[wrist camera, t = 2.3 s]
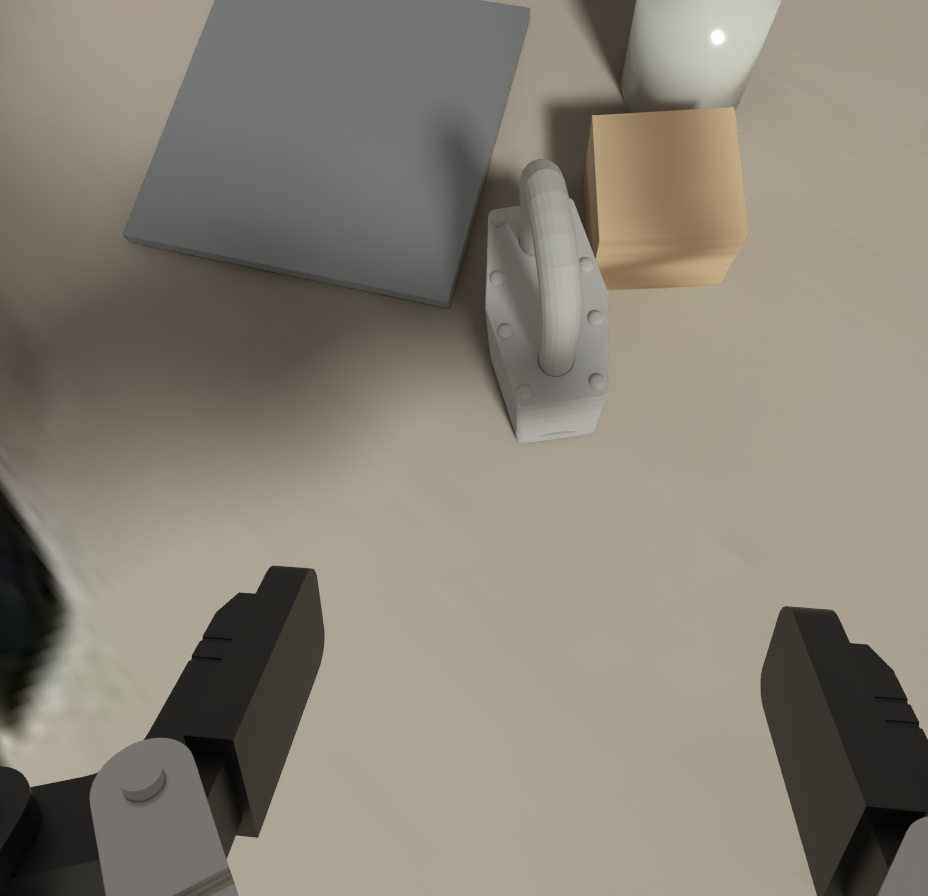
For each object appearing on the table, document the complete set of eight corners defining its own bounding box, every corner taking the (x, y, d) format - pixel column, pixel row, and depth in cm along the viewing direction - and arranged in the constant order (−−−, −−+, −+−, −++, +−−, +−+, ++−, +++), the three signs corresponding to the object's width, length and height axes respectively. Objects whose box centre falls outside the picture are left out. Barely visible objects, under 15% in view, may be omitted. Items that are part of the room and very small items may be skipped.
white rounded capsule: (610, 125, 31) (627, 30, 26) (634, 26, 32) (654, -82, 27) (731, 145, 30) (772, 52, 25) (751, 44, 31) (794, -64, 26)
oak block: (589, 292, 29) (599, 241, 25) (582, 180, 30) (592, 115, 26) (717, 287, 29) (748, 234, 25) (706, 174, 30) (734, 107, 26)
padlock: (478, 278, 29) (458, 106, 20) (578, 263, 29) (607, 83, 20) (503, 448, 28) (493, 352, 18) (609, 433, 28) (657, 328, 18)
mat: (130, 242, 31) (122, 235, 30) (234, -26, 34) (229, -37, 33) (449, 308, 29) (447, 302, 29) (529, 19, 32) (530, 8, 32)
